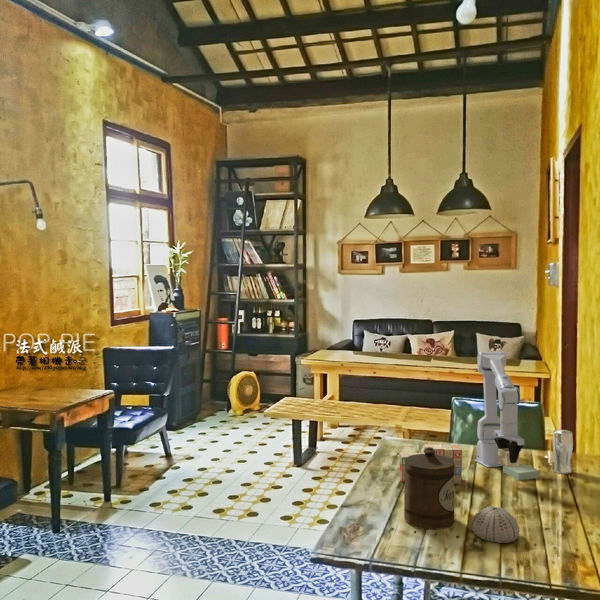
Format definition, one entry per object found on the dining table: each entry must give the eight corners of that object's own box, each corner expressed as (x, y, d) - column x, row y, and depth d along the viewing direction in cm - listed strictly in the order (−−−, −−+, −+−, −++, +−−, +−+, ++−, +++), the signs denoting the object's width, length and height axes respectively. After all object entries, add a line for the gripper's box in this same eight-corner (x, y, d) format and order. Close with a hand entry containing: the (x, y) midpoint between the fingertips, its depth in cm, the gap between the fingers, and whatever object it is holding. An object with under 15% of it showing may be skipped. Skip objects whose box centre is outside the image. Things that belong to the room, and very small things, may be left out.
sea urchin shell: (486, 523, 182) (486, 496, 182) (529, 537, 172) (529, 509, 172) (461, 535, 174) (461, 507, 173) (504, 551, 163) (504, 521, 163)
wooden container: (455, 531, 176) (455, 456, 175) (403, 527, 179) (403, 453, 178) (453, 512, 191) (453, 442, 190) (405, 509, 194) (405, 440, 193)
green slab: (502, 473, 229) (503, 465, 229) (523, 471, 231) (523, 463, 231) (518, 481, 220) (518, 473, 220) (539, 478, 223) (539, 470, 223)
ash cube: (498, 463, 218) (498, 449, 218) (510, 461, 219) (510, 447, 219) (506, 467, 213) (506, 453, 213) (519, 465, 214) (519, 451, 214)
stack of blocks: (401, 482, 219) (401, 448, 218) (399, 477, 225) (399, 443, 224) (462, 483, 217) (462, 449, 217) (458, 477, 224) (458, 444, 223)
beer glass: (575, 474, 226) (576, 434, 226) (556, 474, 226) (557, 434, 226) (567, 468, 233) (568, 429, 233) (549, 468, 233) (549, 429, 233)
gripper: (487, 418, 221) (486, 455, 222) (511, 427, 207) (511, 467, 208) (503, 417, 223) (503, 453, 224) (529, 426, 210) (529, 465, 210)
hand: (508, 460), depth 216 cm, fingers closed on ash cube, 5 cm apart
